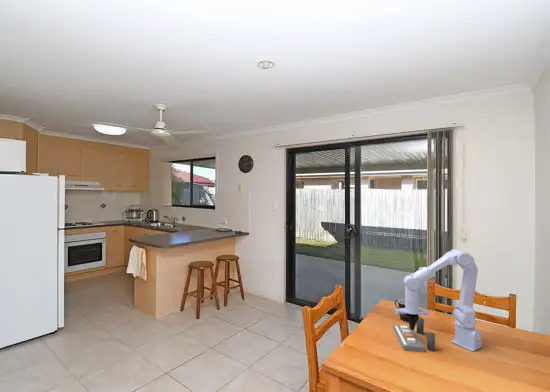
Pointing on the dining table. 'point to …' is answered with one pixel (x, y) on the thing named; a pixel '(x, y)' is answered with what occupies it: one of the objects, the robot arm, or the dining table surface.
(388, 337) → the dining table surface
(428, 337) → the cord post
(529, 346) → the dining table surface
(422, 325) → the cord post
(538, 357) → the dining table surface
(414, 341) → the breaker panel
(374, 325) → the dining table surface
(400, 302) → the coffee mug
